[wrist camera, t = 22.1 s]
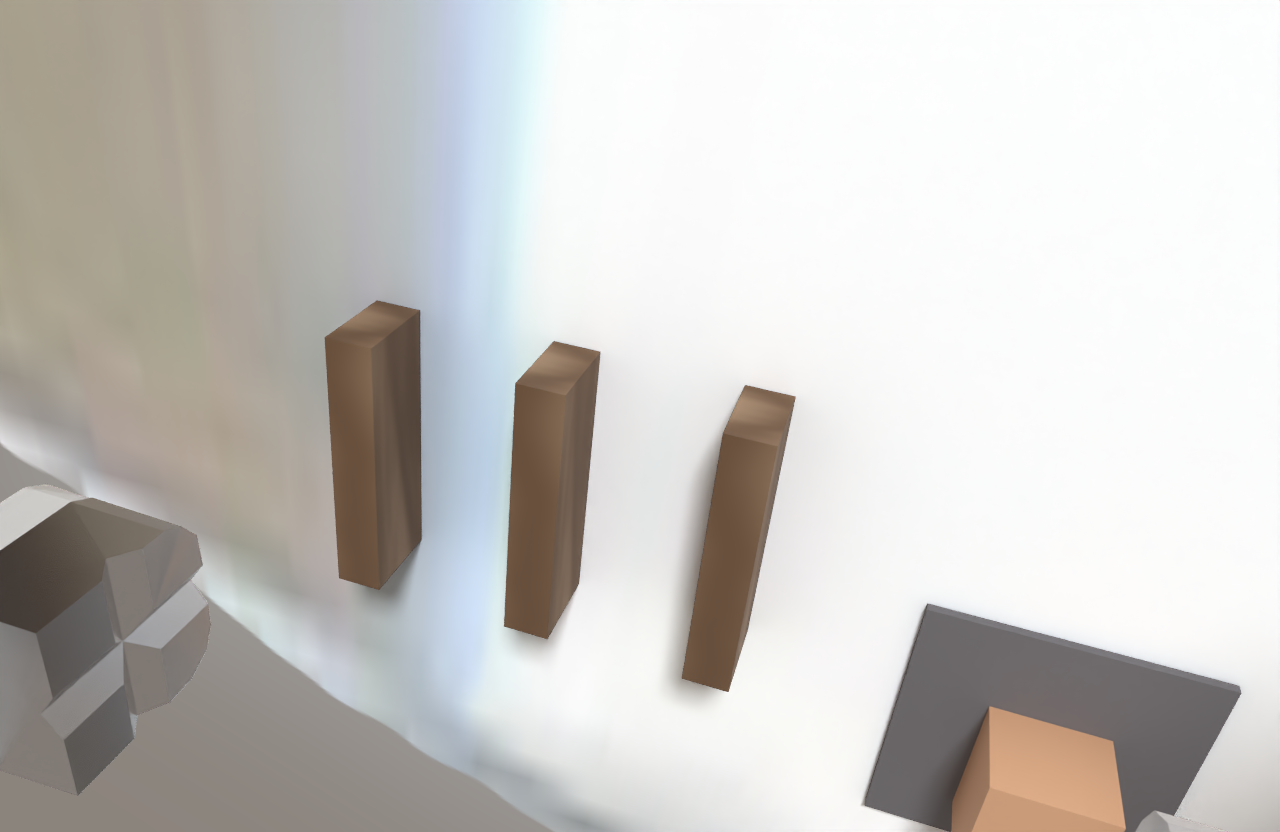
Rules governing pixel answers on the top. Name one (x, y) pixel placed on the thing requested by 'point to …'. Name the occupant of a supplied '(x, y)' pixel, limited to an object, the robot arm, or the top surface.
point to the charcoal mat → (1040, 714)
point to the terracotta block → (1037, 780)
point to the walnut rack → (537, 482)
